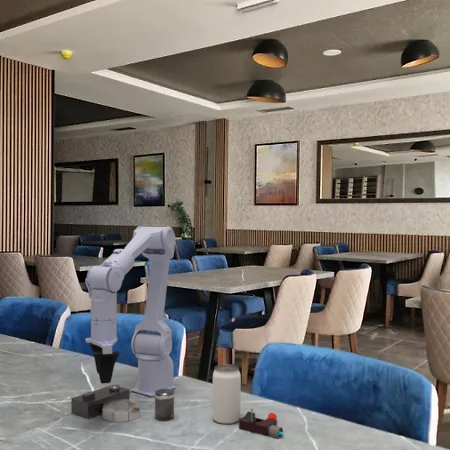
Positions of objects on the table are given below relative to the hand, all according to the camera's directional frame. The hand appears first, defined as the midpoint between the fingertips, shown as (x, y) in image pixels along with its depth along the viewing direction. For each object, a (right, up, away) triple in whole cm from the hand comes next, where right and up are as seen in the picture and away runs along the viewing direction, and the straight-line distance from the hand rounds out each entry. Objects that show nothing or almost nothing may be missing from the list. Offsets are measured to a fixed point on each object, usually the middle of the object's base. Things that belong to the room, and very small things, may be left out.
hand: (103, 377), depth 124 cm
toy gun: (+37, -11, -3) cm, 39 cm away
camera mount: (+1, -10, +5) cm, 11 cm away
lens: (+14, -10, +2) cm, 17 cm away
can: (+28, -10, +1) cm, 30 cm away
